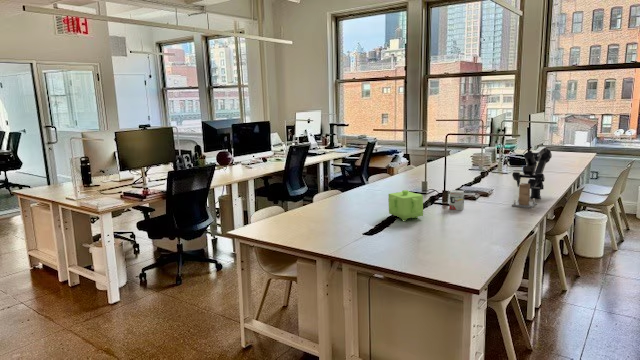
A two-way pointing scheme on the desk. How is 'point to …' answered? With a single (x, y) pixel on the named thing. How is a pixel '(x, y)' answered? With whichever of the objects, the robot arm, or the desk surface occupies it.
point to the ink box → (456, 200)
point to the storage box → (405, 204)
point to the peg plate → (530, 205)
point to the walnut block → (524, 193)
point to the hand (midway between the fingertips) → (525, 187)
